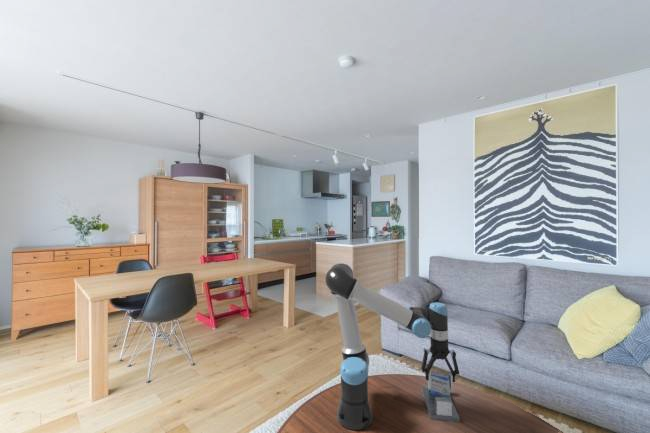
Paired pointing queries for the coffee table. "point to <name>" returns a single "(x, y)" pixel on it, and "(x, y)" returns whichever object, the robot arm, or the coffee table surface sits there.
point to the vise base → (433, 407)
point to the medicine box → (440, 384)
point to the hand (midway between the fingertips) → (440, 388)
